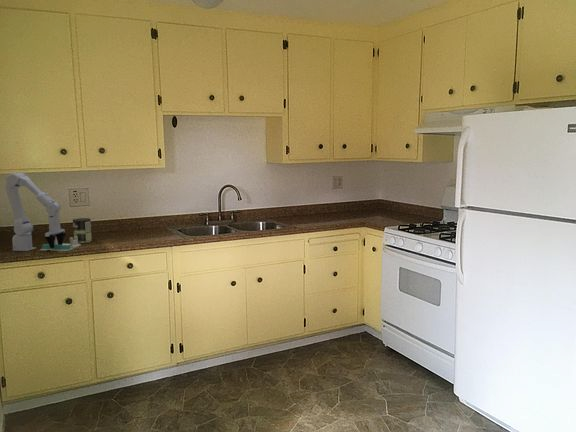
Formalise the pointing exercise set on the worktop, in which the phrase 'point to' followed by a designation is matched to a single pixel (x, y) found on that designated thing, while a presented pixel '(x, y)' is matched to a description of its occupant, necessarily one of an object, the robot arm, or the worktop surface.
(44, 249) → the mat
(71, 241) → the stand
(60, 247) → the rail
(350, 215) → the worktop surface
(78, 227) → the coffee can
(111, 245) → the worktop surface
